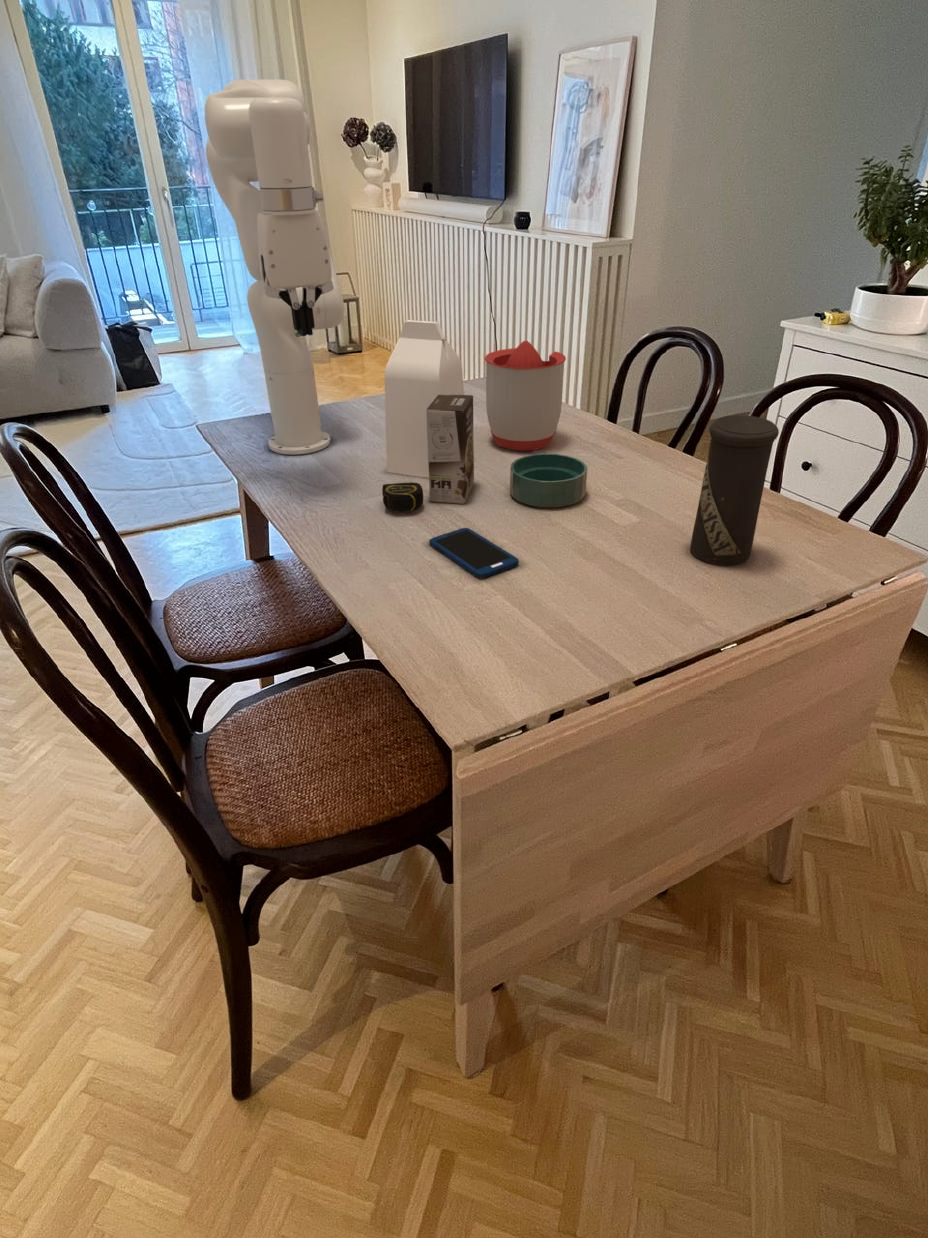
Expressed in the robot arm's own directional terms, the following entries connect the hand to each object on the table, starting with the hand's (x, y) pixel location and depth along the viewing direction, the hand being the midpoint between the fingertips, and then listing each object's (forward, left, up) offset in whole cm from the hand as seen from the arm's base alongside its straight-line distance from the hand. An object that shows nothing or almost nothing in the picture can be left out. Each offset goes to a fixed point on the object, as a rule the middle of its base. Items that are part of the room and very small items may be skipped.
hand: (305, 333), depth 116 cm
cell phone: (+35, +11, -27) cm, 45 cm away
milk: (-1, +21, -27) cm, 34 cm away
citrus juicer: (-3, +44, -27) cm, 52 cm away
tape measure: (+14, +9, -27) cm, 31 cm away
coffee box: (+13, +19, -27) cm, 35 cm away
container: (+53, +43, -27) cm, 73 cm away
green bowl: (+22, +33, -27) cm, 48 cm away
